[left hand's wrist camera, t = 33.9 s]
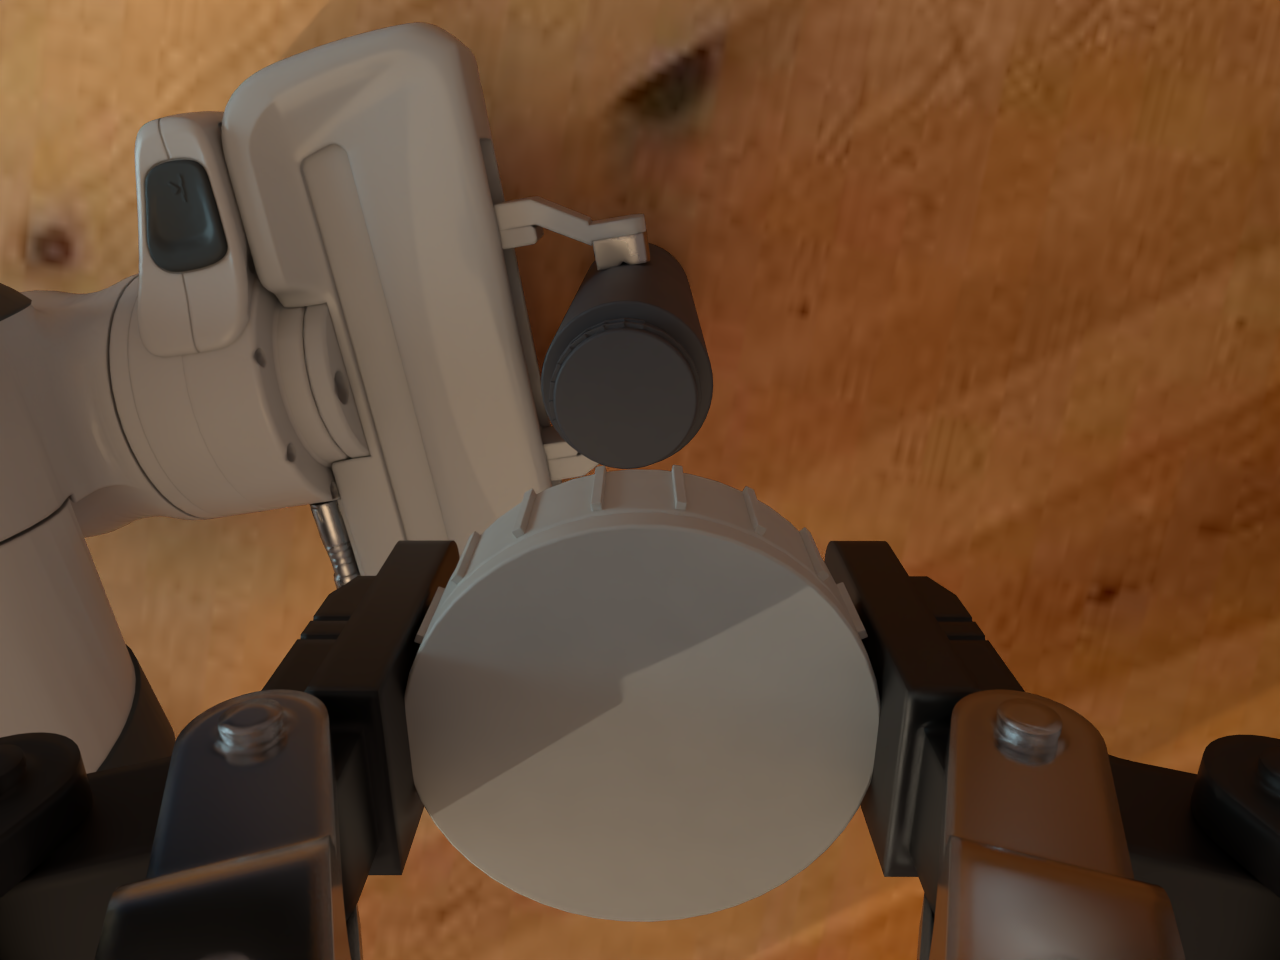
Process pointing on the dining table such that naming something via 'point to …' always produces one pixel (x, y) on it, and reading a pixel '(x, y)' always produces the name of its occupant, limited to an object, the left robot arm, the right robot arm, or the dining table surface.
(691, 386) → the dark brown cylinder
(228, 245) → the right robot arm
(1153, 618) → the dining table surface
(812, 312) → the dining table surface
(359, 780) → the left robot arm
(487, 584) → the lid
